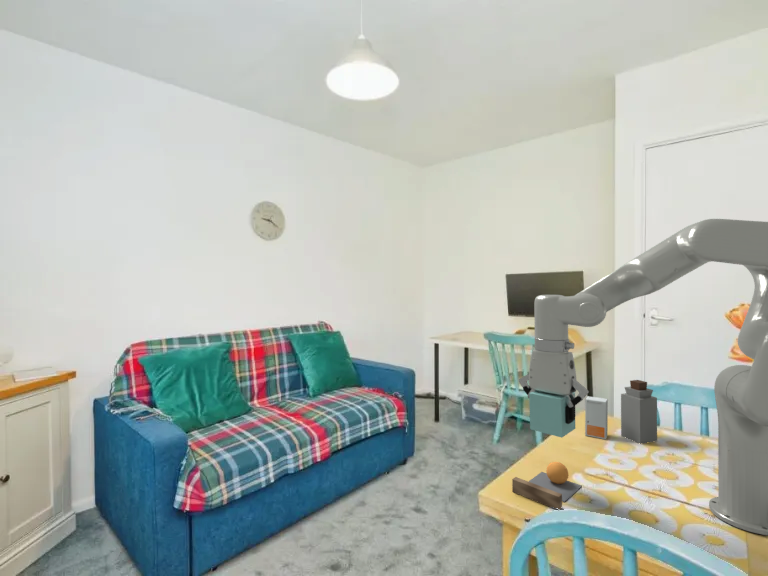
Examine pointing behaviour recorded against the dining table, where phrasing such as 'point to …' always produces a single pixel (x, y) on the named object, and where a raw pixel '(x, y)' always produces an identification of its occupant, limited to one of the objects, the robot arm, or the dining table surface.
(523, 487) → the stopper rail
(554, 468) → the ball
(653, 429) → the perfume bottle
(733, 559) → the dining table surface
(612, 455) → the dining table surface
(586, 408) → the skincare box
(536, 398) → the teal tissue box
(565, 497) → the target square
